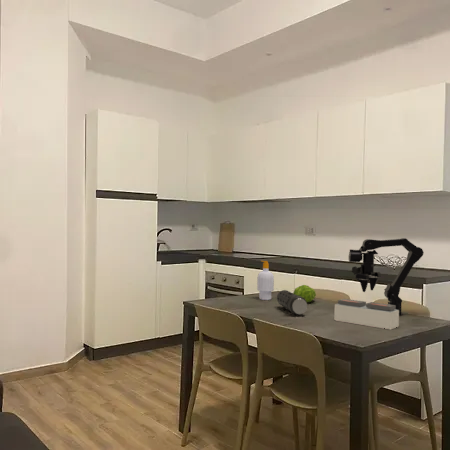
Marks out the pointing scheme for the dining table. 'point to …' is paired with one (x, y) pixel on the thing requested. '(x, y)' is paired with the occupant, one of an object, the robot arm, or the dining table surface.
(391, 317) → the switch block
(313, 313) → the dining table surface
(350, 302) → the key
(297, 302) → the grey foam roller
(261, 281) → the soap bottle
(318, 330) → the dining table surface
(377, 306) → the key
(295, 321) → the dining table surface
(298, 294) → the lettuce
